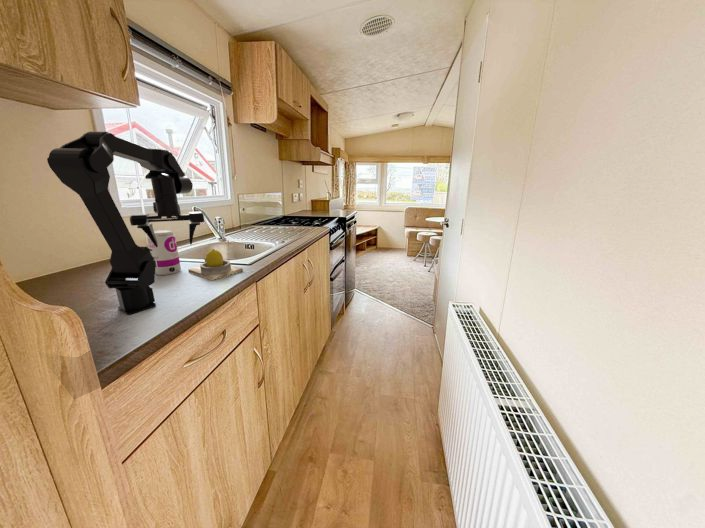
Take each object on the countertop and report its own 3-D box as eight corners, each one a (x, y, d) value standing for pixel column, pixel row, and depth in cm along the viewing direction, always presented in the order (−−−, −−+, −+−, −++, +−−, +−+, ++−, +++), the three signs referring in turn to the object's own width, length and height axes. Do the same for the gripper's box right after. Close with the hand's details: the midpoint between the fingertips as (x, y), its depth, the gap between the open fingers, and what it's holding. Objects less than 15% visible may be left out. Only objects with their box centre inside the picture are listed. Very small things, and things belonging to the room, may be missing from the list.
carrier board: (212, 280, 94) (210, 268, 92) (188, 272, 101) (186, 261, 100) (243, 271, 103) (241, 260, 102) (219, 264, 111) (217, 254, 110)
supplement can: (186, 269, 105) (179, 230, 100) (168, 276, 97) (160, 234, 93) (167, 268, 106) (160, 229, 102) (148, 274, 98) (140, 233, 94)
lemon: (220, 273, 97) (217, 251, 95) (204, 272, 97) (200, 250, 95) (227, 268, 103) (224, 247, 100) (212, 267, 103) (209, 247, 100)
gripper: (200, 193, 94) (207, 238, 99) (132, 193, 86) (143, 243, 90) (200, 195, 85) (207, 244, 89) (124, 195, 76) (136, 250, 81)
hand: (174, 245), depth 88 cm, fingers open, 9 cm apart
